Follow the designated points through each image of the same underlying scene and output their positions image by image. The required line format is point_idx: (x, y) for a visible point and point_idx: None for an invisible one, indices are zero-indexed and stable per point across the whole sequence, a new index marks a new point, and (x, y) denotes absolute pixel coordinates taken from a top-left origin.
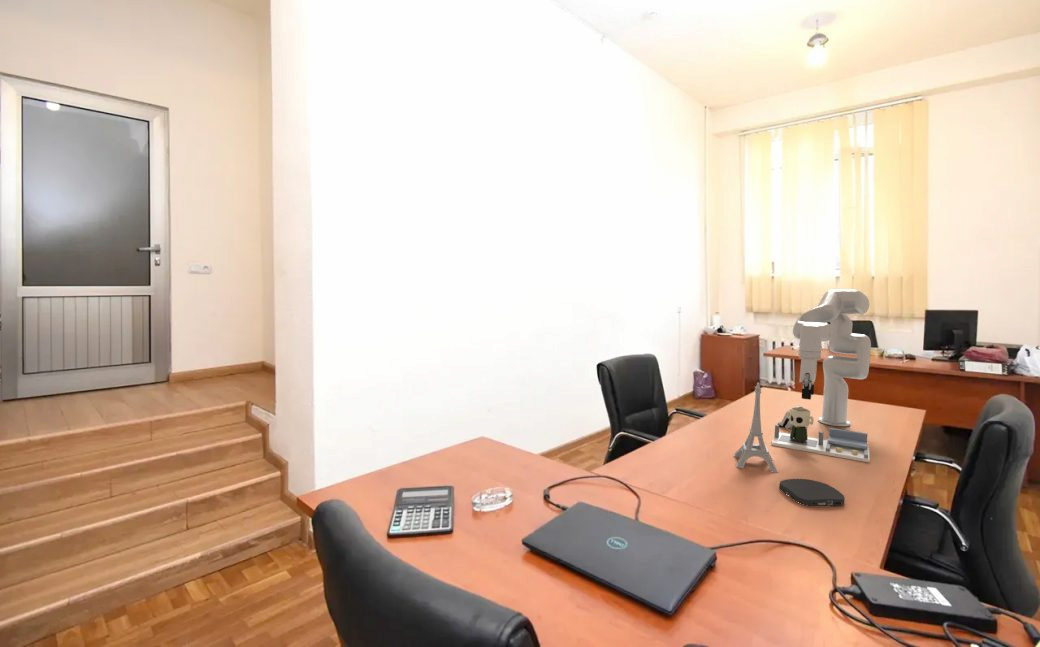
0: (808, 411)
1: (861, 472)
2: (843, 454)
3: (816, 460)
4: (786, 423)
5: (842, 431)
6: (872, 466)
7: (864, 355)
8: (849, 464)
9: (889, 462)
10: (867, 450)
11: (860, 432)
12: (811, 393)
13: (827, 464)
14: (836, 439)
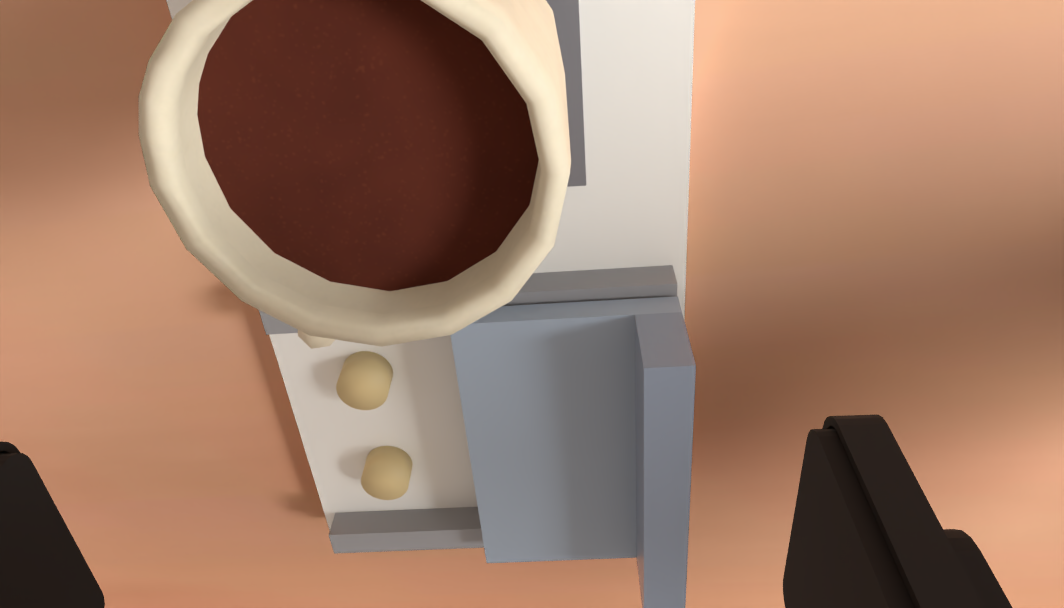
0: (307, 329)
1: (61, 494)
2: (299, 406)
3: (20, 233)
4: None
5: (643, 462)
6: (263, 532)
7: None
8: (168, 430)
9: (447, 594)
10: (463, 545)
11: (679, 580)
12: (796, 588)
13: (5, 315)
14: (538, 379)
